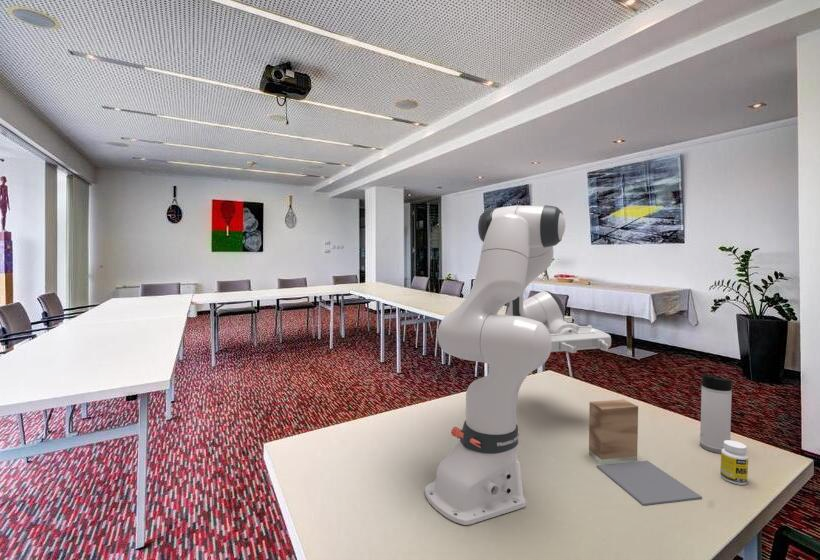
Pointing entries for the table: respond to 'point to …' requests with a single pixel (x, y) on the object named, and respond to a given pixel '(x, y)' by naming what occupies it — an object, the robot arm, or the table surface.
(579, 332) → the robot arm
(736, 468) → the supplement bottle
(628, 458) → the walnut block
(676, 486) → the mat
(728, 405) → the travel mug
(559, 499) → the table surface
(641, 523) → the table surface
